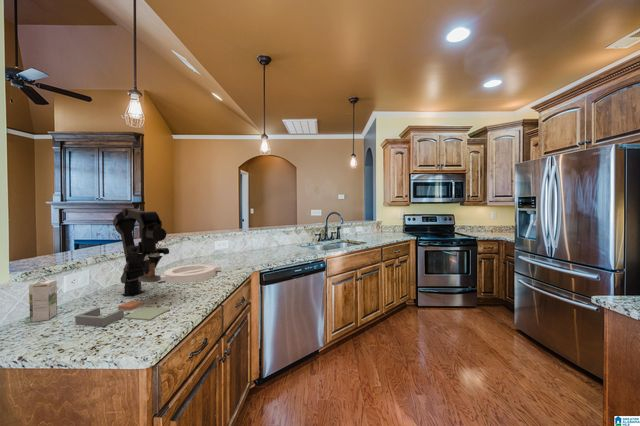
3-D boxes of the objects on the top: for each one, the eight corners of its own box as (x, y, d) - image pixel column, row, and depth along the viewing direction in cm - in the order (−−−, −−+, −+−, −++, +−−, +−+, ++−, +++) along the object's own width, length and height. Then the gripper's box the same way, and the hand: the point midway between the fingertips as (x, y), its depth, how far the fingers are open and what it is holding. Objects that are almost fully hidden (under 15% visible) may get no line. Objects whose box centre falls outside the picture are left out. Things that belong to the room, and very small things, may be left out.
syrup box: (39, 316, 106) (37, 280, 105) (58, 314, 108) (56, 278, 107) (29, 322, 100) (27, 284, 100) (50, 320, 102) (48, 282, 102)
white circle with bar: (222, 271, 175) (222, 264, 175) (202, 284, 147) (202, 275, 147) (180, 271, 176) (180, 264, 176) (153, 284, 148) (152, 275, 148)
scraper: (145, 278, 125) (145, 261, 124) (160, 279, 123) (160, 262, 123) (138, 281, 121) (137, 263, 120) (153, 282, 119) (153, 264, 119)
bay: (97, 314, 107) (97, 307, 106) (123, 317, 104) (123, 309, 104) (75, 324, 98) (75, 316, 98) (103, 326, 96) (103, 318, 96)
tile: (131, 305, 118) (131, 300, 118) (142, 306, 116) (142, 301, 116) (118, 310, 112) (118, 305, 112) (130, 311, 111) (129, 306, 111)
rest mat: (144, 308, 113) (144, 307, 113) (169, 309, 111) (169, 308, 111) (123, 318, 103) (123, 316, 103) (150, 320, 101) (150, 319, 101)
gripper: (149, 235, 131) (150, 267, 132) (114, 241, 113) (115, 277, 114) (169, 236, 129) (170, 268, 130) (136, 242, 111) (137, 279, 112)
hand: (149, 273), depth 122 cm, fingers closed on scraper, 3 cm apart
